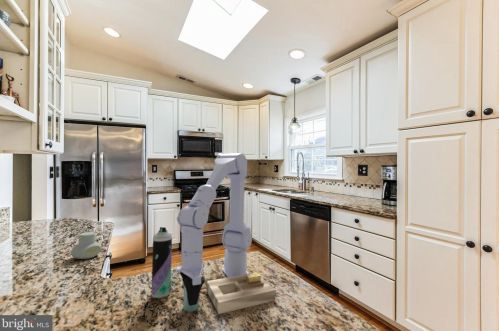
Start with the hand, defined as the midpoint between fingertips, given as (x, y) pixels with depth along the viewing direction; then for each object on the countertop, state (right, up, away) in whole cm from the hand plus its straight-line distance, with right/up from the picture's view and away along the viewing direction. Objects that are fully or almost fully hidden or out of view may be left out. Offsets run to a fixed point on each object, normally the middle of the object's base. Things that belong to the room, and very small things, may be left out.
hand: (191, 300), depth 64 cm
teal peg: (0, -2, 0) cm, 2 cm away
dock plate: (+13, -2, +6) cm, 15 cm away
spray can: (-11, -2, +7) cm, 13 cm away
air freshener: (-54, -3, +37) cm, 66 cm away
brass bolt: (+17, +1, +8) cm, 19 cm away
